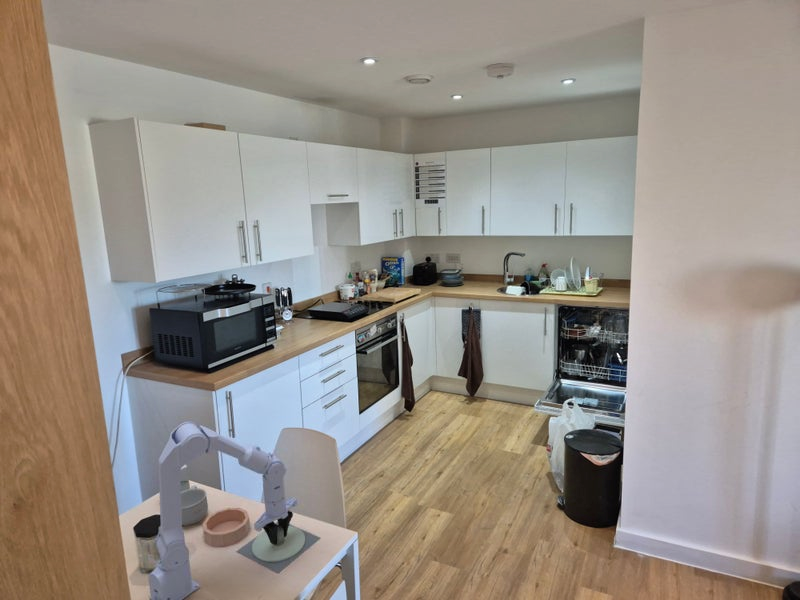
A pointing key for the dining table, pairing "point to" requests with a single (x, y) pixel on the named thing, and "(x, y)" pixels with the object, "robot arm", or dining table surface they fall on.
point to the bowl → (226, 527)
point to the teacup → (193, 505)
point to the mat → (279, 566)
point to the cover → (279, 545)
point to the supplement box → (184, 478)
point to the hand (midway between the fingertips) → (278, 539)
